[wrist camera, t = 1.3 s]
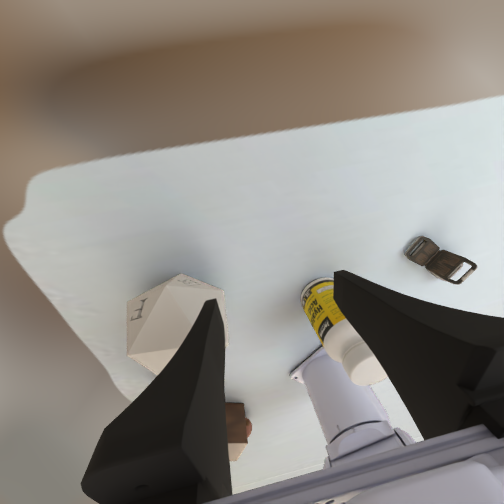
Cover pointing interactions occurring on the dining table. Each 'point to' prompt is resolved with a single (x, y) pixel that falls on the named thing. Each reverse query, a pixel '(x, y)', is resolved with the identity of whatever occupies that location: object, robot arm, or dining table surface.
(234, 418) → the walnut block
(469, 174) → the dining table surface
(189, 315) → the die
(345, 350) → the supplement bottle
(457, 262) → the strap clip
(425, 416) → the robot arm
